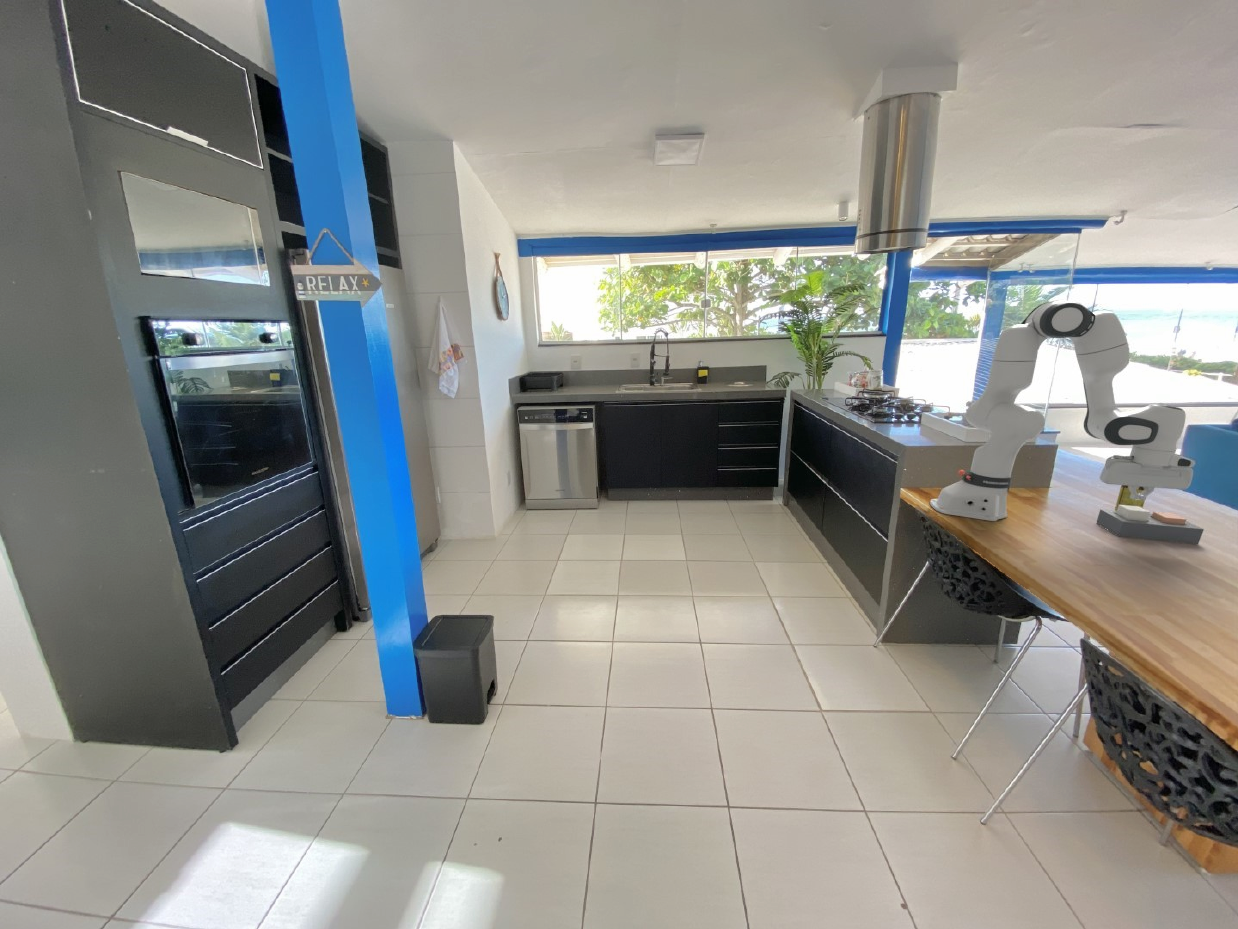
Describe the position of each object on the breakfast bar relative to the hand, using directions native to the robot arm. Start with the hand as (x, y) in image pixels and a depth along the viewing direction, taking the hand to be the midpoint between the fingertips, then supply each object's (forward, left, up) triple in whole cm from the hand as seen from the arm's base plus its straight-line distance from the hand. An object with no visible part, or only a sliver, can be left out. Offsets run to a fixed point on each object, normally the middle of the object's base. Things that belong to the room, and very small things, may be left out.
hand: (1137, 499), depth 146 cm
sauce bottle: (+8, +16, -11) cm, 21 cm away
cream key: (0, 0, -7) cm, 7 cm away
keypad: (+4, 0, -11) cm, 12 cm away
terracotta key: (+9, 0, -8) cm, 12 cm away
